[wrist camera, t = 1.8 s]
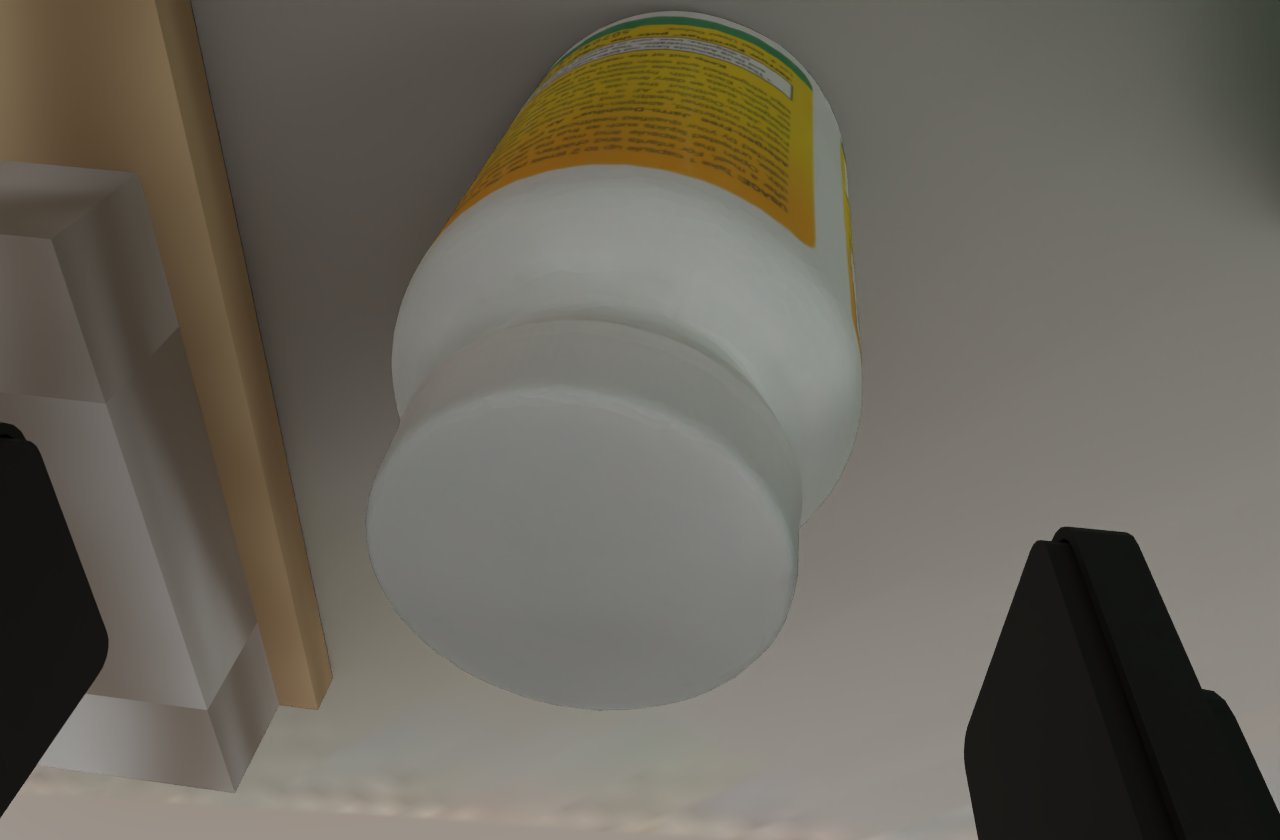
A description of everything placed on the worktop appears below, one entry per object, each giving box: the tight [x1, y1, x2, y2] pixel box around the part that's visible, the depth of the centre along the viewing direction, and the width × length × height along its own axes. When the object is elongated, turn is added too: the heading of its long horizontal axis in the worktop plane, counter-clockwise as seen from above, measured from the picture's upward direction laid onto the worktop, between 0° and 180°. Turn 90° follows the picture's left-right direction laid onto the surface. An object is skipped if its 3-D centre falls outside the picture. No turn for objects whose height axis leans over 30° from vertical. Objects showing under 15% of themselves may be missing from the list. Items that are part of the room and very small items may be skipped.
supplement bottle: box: [365, 11, 862, 711], centre depth 13 cm, size 5×5×10 cm
